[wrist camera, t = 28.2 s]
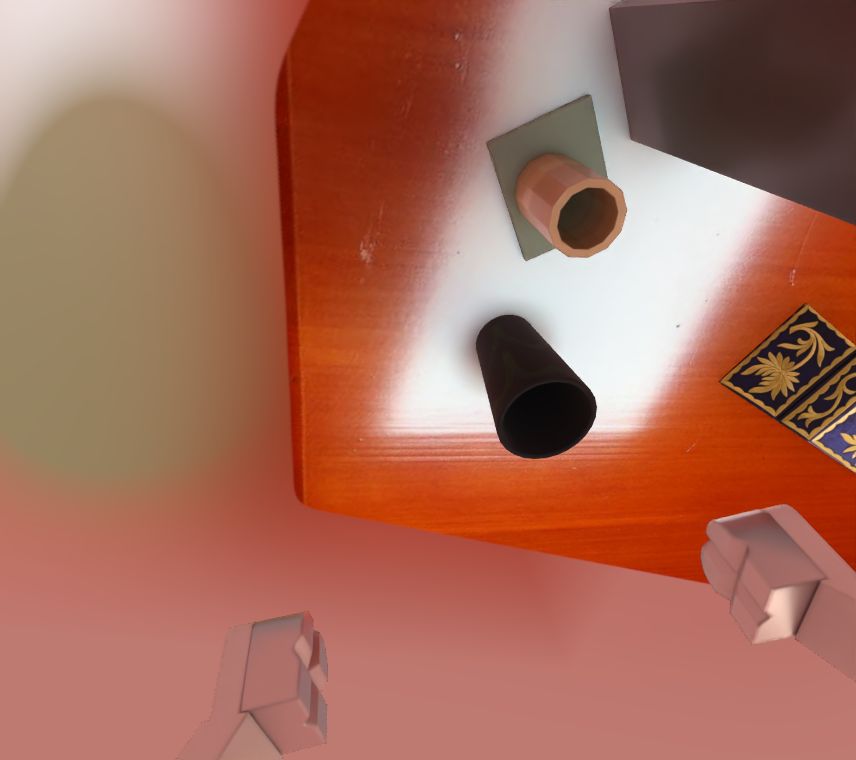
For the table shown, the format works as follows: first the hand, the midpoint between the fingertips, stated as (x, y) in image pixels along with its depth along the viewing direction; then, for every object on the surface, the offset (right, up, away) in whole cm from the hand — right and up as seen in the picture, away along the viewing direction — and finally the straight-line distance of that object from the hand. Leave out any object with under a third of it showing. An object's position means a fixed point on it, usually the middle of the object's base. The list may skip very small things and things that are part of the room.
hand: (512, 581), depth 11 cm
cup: (+5, +8, +39) cm, 40 cm away
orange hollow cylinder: (+8, +19, +31) cm, 37 cm away
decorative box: (+44, +2, +49) cm, 66 cm away
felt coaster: (+8, +20, +31) cm, 38 cm away
